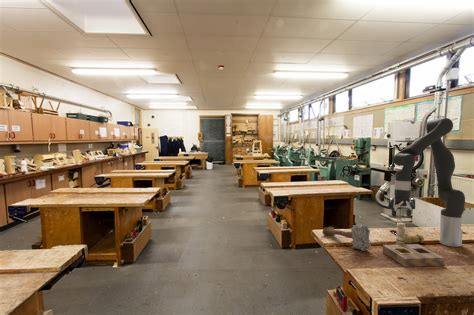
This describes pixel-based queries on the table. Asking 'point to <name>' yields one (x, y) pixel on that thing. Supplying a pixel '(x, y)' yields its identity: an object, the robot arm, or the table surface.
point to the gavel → (411, 238)
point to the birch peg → (400, 234)
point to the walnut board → (413, 255)
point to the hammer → (353, 235)
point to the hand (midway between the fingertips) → (401, 216)
